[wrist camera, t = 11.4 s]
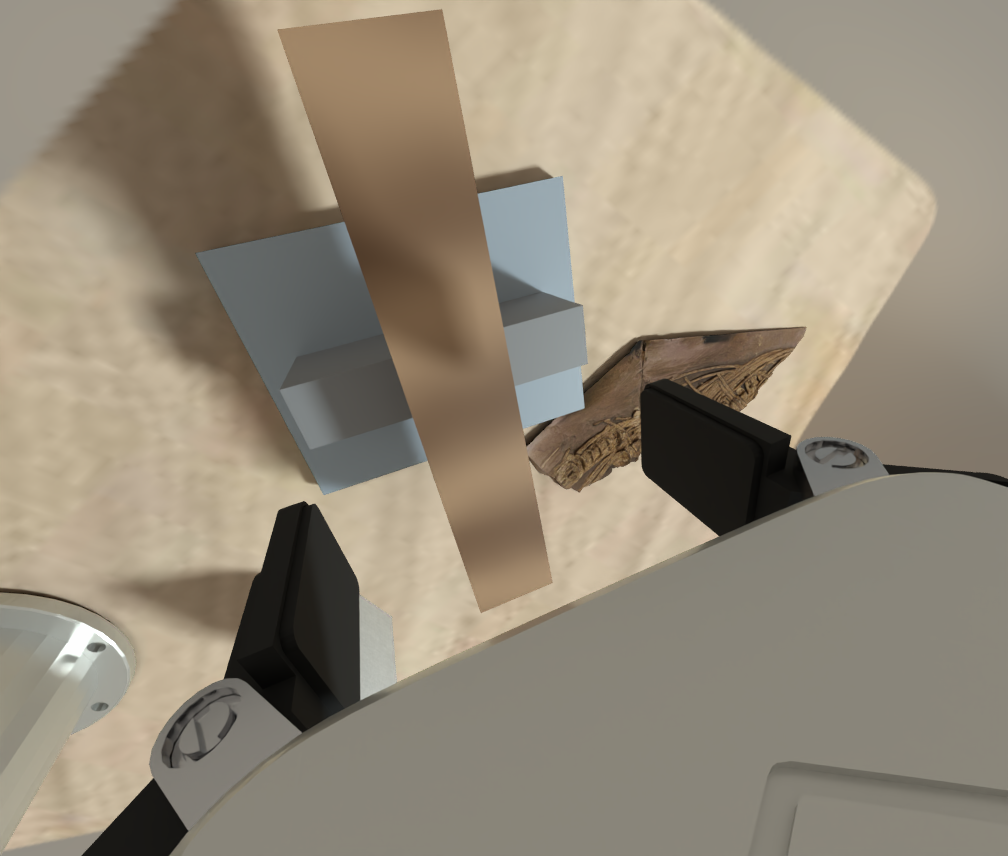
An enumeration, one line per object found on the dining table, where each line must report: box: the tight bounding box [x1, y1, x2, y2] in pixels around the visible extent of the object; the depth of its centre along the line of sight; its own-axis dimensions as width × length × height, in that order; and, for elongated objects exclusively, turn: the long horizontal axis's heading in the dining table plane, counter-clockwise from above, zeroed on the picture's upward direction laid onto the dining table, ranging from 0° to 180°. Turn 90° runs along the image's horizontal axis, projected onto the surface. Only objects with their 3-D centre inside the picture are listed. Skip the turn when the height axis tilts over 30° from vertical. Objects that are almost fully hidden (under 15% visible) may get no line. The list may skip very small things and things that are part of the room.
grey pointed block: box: [359, 594, 397, 700], centre depth 26 cm, size 4×7×10 cm, turn 31°
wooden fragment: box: [526, 327, 806, 492], centre depth 31 cm, size 26×11×1 cm, turn 103°
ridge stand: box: [195, 176, 588, 495], centre depth 21 cm, size 18×14×6 cm
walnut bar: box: [278, 9, 552, 613], centre depth 17 cm, size 22×4×4 cm, turn 11°
